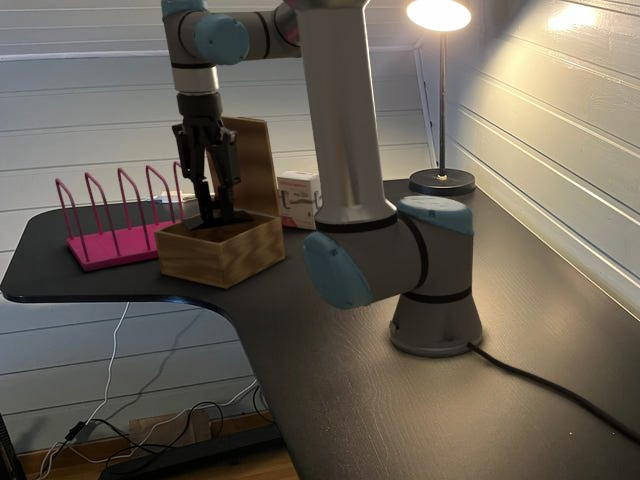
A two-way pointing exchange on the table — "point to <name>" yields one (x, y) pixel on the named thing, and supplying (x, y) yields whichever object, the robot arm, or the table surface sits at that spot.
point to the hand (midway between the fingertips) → (217, 217)
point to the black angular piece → (214, 217)
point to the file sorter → (117, 243)
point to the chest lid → (251, 167)
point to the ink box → (299, 198)
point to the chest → (220, 250)
